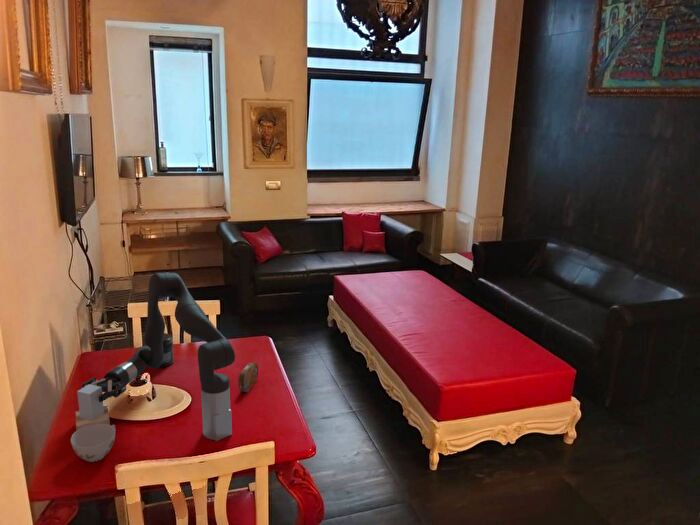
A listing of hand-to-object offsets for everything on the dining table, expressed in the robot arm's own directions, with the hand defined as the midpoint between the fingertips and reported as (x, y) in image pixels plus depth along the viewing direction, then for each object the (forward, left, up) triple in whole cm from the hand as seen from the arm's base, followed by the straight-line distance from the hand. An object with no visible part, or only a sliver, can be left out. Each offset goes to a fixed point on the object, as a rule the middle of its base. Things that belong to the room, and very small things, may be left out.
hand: (88, 397), depth 180 cm
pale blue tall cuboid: (0, 0, -7) cm, 7 cm away
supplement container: (+31, -40, -12) cm, 52 cm away
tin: (-10, -57, -12) cm, 59 cm away
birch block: (0, -1, -12) cm, 12 cm away
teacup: (-16, +4, -12) cm, 20 cm away
